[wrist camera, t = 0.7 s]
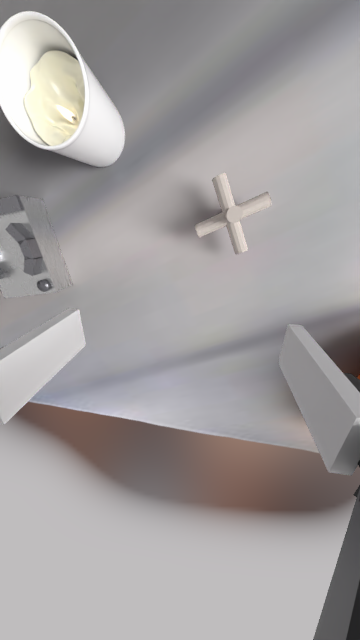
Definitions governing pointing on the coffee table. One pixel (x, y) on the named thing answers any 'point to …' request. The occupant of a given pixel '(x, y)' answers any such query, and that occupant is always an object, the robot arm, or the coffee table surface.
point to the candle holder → (55, 93)
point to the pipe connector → (232, 213)
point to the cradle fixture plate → (29, 249)
